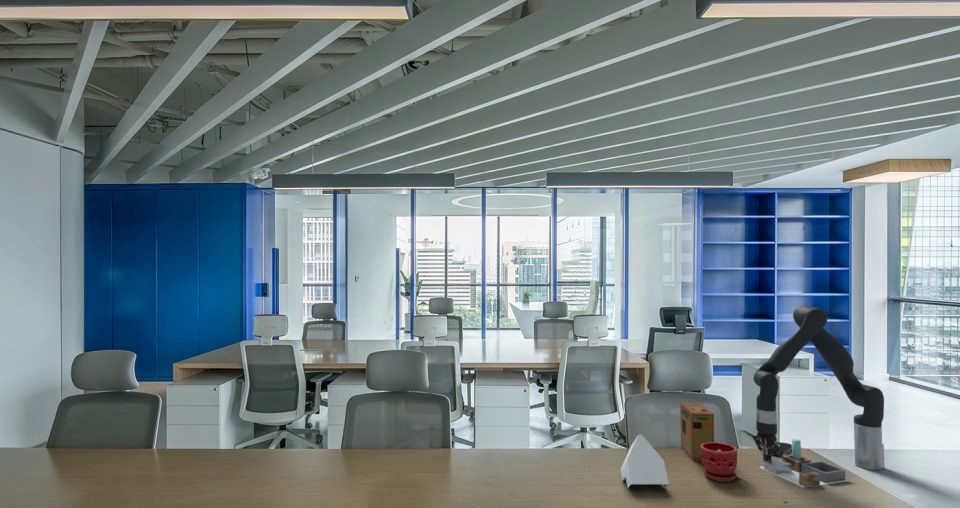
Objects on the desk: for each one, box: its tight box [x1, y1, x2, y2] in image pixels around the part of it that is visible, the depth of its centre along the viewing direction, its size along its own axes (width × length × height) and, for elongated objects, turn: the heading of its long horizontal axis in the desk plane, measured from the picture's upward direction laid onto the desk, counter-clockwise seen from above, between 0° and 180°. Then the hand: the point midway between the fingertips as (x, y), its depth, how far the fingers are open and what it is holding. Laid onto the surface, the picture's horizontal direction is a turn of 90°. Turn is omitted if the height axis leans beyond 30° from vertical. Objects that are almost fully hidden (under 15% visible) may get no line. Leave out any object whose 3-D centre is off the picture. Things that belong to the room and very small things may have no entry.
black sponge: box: [760, 441, 792, 458], centre depth 225 cm, size 16×8×4 cm, turn 132°
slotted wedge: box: [620, 434, 670, 489], centre depth 194 cm, size 14×11×18 cm
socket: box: [781, 454, 812, 472], centre depth 205 cm, size 7×7×4 cm
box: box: [679, 403, 715, 462], centre depth 224 cm, size 17×9×20 cm, turn 174°
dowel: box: [791, 438, 802, 460], centre depth 205 cm, size 3×3×11 cm
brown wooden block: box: [799, 472, 821, 488], centre depth 189 cm, size 7×2×4 cm, turn 105°
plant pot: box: [701, 441, 738, 483], centre depth 199 cm, size 13×13×12 cm
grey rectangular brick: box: [763, 458, 792, 475], centre depth 202 cm, size 8×6×3 cm
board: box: [759, 465, 848, 488], centre depth 199 cm, size 22×20×1 cm
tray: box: [801, 460, 846, 483], centre depth 196 cm, size 10×10×4 cm
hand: (767, 463), depth 207 cm, fingers closed
